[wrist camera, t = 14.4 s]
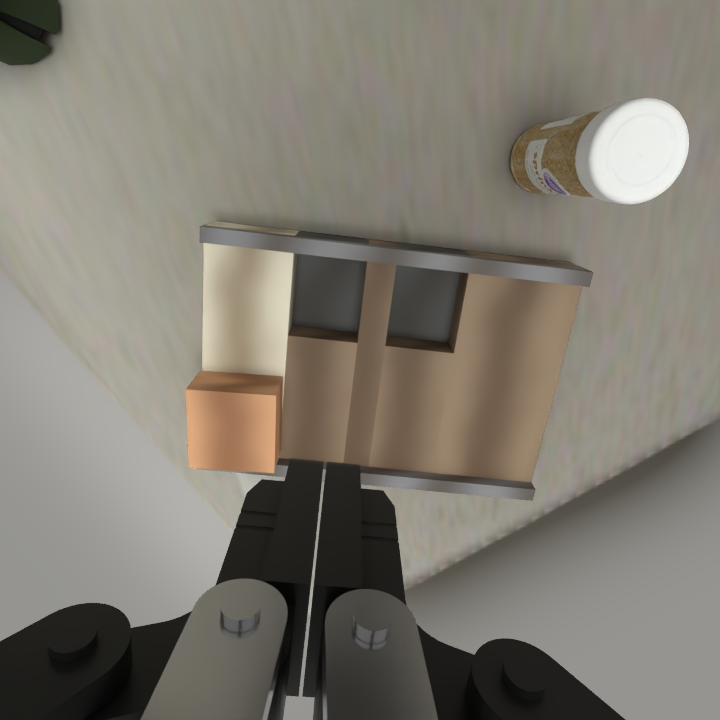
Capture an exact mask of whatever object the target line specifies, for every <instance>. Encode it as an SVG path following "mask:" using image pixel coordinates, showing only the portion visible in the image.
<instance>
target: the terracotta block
mask: <svg viewBox="0 0 720 720" xmlns="http://www.w3.org/2000/svg"><path fill="white" fill-rule="evenodd" d="M282 400H283V376H271V375H256V374H242V373H227V372H213V371H200V372H199V373H198V375H197V376H196V377H195V378H194V380H193V381H192V382H191V384H190V385H189V386H188V387H187V389H186V406H187V432H188V458H189V468H198V469H214V470H230V471H246V472H262V473H275V469H276V465H277V462H278V458H279V454H280V451H281V433H282Z"/></svg>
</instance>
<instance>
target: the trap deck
mask: <svg viewBox="0 0 720 720" xmlns="http://www.w3.org/2000/svg"><path fill="white" fill-rule="evenodd" d="M200 242H201V243H204V275H203V348H202V371H213V372H227V373H242V374H256V375H271V376H283V400H282V433H281V451H280V454H279V458H278V462H277V465H276V469H275V473H262V472H246V471H230V470H215V471H226V472H236V473H247V474H257V475H268V476H279V477H286V473H287V469H288V465H289V460H290V458H294V459H305V460H315V461H324V464H323V474H322V481H325V474H326V465H327V462H337V463H348V464H358V465H360V473H361V484H363V485H373V486H384V487H395V488H405V489H416V490H426V491H437V492H447V493H458V494H468V495H479V496H489V497H500V498H511V499H521V500H533V497H534V493H535V488H534V486H533V485H532V483H531V482H532V478H533V474H534V470H535V466H536V462H537V459H538V455H539V451H540V447H541V443H542V440H543V436H544V432H545V428H546V424H547V420H548V417H549V413H550V409H551V405H552V401H553V398H554V394H555V390H556V386H557V382H558V379H559V375H560V371H561V367H562V363H563V359H564V356H565V352H566V348H567V344H568V340H569V337H570V333H571V329H572V325H573V321H574V317H575V314H576V310H577V306H578V302H579V298H580V295H581V291H582V287H583V286H585V287H590V283H591V279H592V275H593V272H592V271H589V270H587V269H584V268H582V267H580V266H577V265H575V264H573V263H570V262H562V261H553V260H545V259H536V258H527V257H519V256H510V255H502V254H493V253H484V252H476V251H467V250H459V249H450V248H442V247H433V246H424V245H416V244H407V243H399V242H390V241H381V240H373V239H364V238H356V237H347V236H339V235H330V234H321V233H313V232H304V231H296V230H287V229H278V228H270V227H261V226H253V225H244V224H236V223H227V222H218V221H215V222H212V223H209V224H206V225H203V226H200ZM197 469H198V468H197ZM205 470H214V469H205Z"/></svg>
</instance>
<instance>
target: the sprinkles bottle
mask: <svg viewBox="0 0 720 720" xmlns="http://www.w3.org/2000/svg"><path fill="white" fill-rule="evenodd" d="M688 149H689V135H688V129H687V126H686V123H685V121H684V119H683V117H682V116H681V114H680V113H679V112H678V110H677V109H675V108H674V107H673V106H672V105H670V104H669V103H667V102H665V101H662V100H659V99H655V98H639V99H633V100H628V101H624V102H620V103H617V104H614V105H612V106H610V107H608V108H606V109H604V110H603V111H597V112H589V113H585V114H581V115H577V116H573V117H569V118H566V119H562V120H558V121H554V122H551V123H549V124H540V125H536V126H535V127H532V128H530V129H528V130H527V131H526V132H525V133H523V134H522V135H521V136H520V137H519V138H518V139H517V141H516V143H515V145H514V147H513V149H512V154H511V159H510V168H511V172H512V175H513V176H514V179H515V180H516V182H517V184H518V185H519V186H520V187H521V188H523V189H525V190H526V191H529V192H532V193H539V194H542V193H548V194H553V195H563V196H583V197H595V198H597V199H599V200H601V201H604V202H609V203H616V204H638V203H642V202H645V201H648V200H651V199H653V198H655V197H656V196H658V195H660V194H661V193H662V192H664V191H665V190H666V189H667V188H669V187H670V186H671V185H672V183H673V182H674V181H675V180H676V178H677V177H678V175H679V174H680V172H681V170H682V168H683V166H684V164H685V161H686V158H687V155H688Z"/></svg>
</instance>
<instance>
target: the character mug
mask: <svg viewBox="0 0 720 720" xmlns="http://www.w3.org/2000/svg"><path fill="white" fill-rule="evenodd" d="M42 29H44V30H47V31H49V32H51V33H54V34H56V35H57V33H58V31H59V17H58V4H57V2H56V0H0V61H1V62H4V63H6V64H9V65H20V64H33V63H34V62H36V61H37V60H39V59H40V58H42V57H43V56H45V55H46V54H48V53H49V51H50V47H48V46H46V45H44V44H42V43H40V42H38V41H36V40H37V39H38V38H39V37H40V36H41V35H42Z"/></svg>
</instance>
